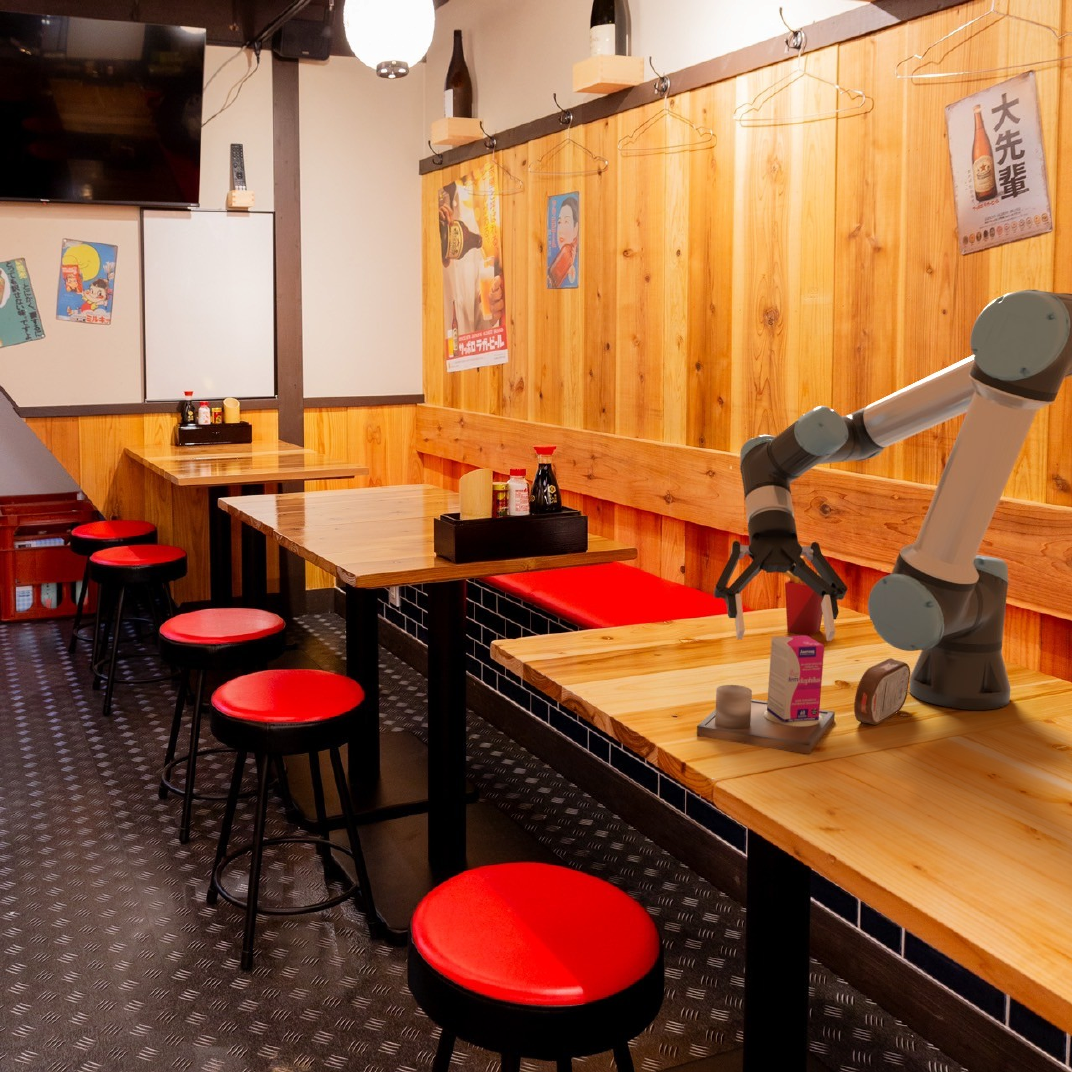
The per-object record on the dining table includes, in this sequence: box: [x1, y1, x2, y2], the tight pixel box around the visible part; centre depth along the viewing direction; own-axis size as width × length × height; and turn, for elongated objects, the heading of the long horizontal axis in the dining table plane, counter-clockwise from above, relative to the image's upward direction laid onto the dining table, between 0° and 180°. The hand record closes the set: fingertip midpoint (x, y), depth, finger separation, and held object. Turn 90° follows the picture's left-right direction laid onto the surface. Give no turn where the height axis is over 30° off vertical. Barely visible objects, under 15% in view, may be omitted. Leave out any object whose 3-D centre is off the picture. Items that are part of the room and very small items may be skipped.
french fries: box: [782, 555, 823, 637], centre depth 224 cm, size 9×8×15 cm
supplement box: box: [766, 634, 825, 722], centre depth 169 cm, size 6×6×12 cm
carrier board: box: [696, 684, 836, 755], centre depth 168 cm, size 16×16×6 cm
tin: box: [853, 657, 911, 726], centre depth 174 cm, size 15×3×8 cm, turn 141°
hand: (786, 635), depth 175 cm, fingers open, 13 cm apart
